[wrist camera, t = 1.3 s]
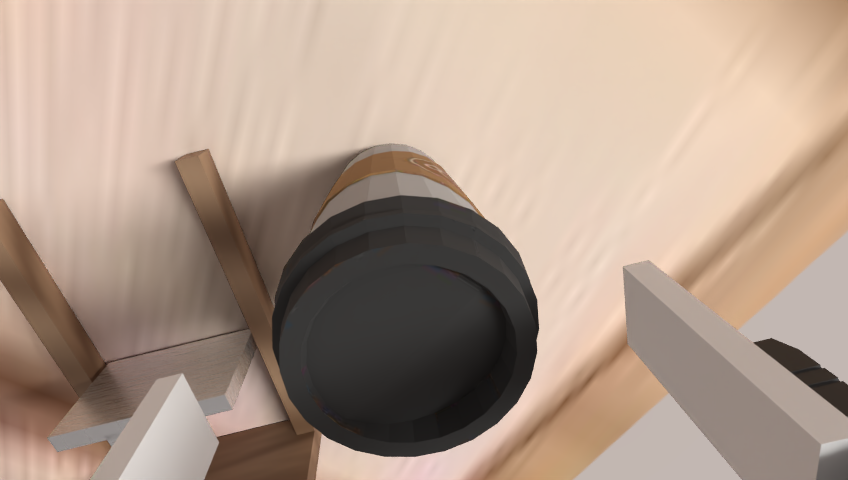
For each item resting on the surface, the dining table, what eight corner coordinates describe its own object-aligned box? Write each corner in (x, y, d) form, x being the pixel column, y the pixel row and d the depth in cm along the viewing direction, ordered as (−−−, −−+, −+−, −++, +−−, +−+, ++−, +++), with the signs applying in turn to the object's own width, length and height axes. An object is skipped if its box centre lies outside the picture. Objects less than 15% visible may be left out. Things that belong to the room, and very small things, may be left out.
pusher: (108, 362, 29) (46, 437, 24) (253, 327, 29) (224, 394, 24) (136, 407, 31) (84, 487, 25) (273, 374, 31) (251, 447, 25)
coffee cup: (494, 192, 27) (613, 345, 14) (397, 287, 29) (417, 507, 16) (387, 89, 25) (402, 153, 11) (288, 202, 27) (194, 378, 13)
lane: (-20, 204, 25) (-131, 250, 20) (208, 148, 25) (161, 180, 20) (150, 467, 33) (105, 553, 28) (322, 425, 33) (312, 503, 28)
